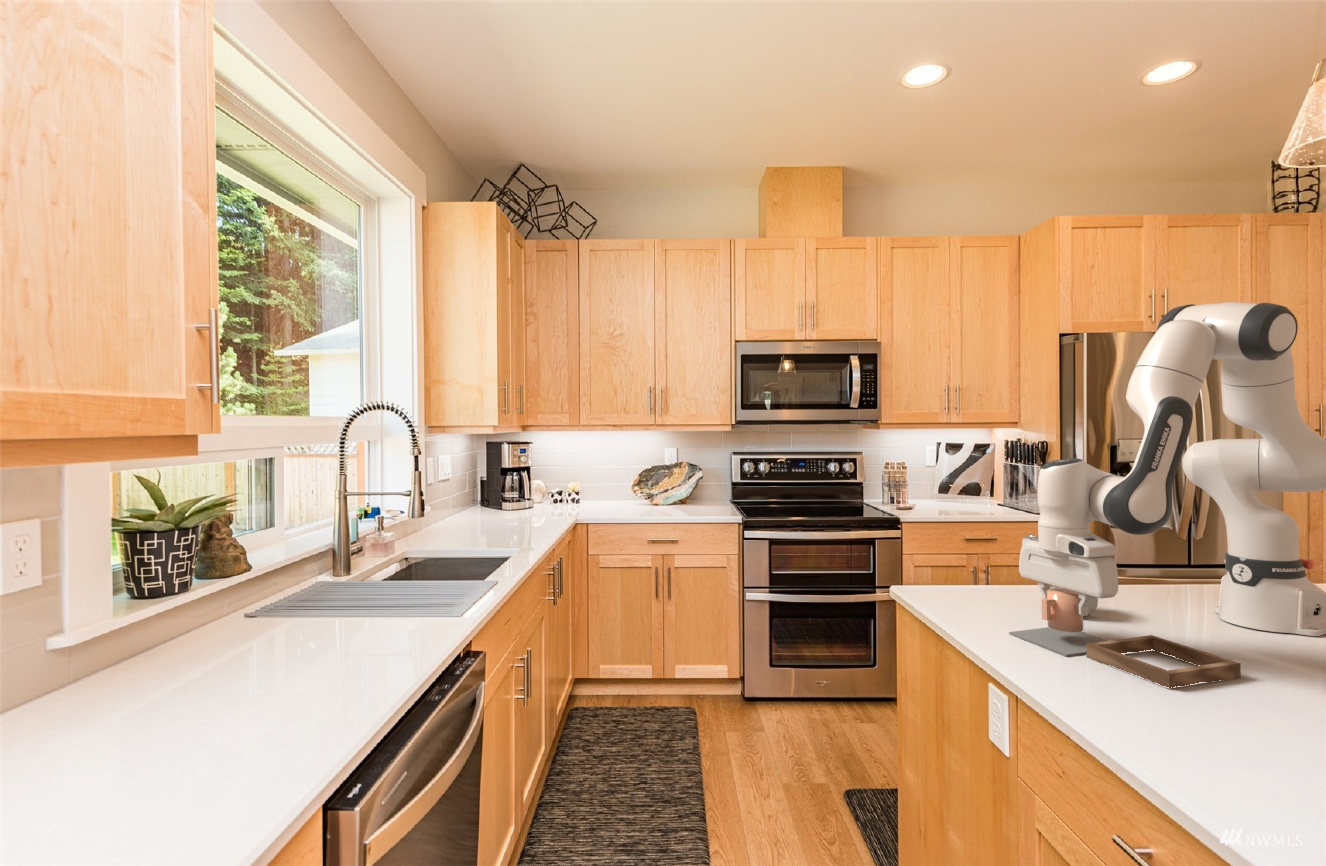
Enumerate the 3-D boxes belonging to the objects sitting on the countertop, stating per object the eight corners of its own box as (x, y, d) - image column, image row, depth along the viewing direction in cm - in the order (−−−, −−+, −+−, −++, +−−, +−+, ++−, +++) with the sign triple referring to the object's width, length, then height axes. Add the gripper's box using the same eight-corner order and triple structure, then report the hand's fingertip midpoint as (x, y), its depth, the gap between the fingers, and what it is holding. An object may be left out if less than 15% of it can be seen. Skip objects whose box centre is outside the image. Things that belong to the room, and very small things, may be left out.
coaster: (1064, 627, 138) (1064, 625, 138) (1125, 648, 124) (1125, 646, 124) (1009, 633, 134) (1009, 632, 134) (1066, 656, 121) (1066, 654, 121)
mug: (1064, 621, 132) (1064, 587, 132) (1090, 630, 127) (1090, 594, 127) (1032, 625, 130) (1031, 590, 130) (1057, 634, 125) (1056, 598, 125)
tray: (1151, 648, 124) (1151, 635, 124) (1240, 677, 109) (1240, 663, 109) (1086, 657, 120) (1086, 643, 120) (1169, 689, 105) (1169, 673, 105)
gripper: (1010, 533, 138) (1011, 598, 138) (1096, 550, 118) (1098, 625, 118) (1034, 531, 140) (1036, 595, 140) (1123, 547, 120) (1125, 622, 120)
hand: (1065, 609), depth 129 cm, fingers closed on mug, 6 cm apart
